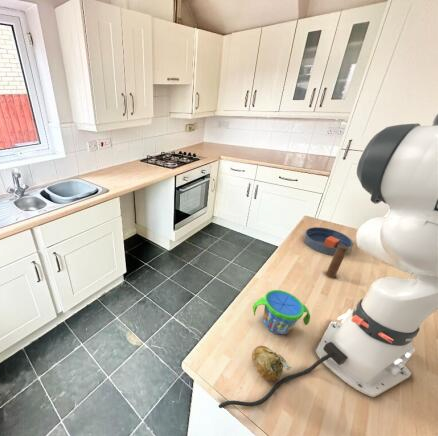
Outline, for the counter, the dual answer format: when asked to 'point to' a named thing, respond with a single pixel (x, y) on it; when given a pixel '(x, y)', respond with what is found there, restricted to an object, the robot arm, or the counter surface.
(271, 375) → the onion
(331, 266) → the stick
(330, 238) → the block
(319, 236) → the bowl
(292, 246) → the counter surface
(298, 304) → the snack cup
